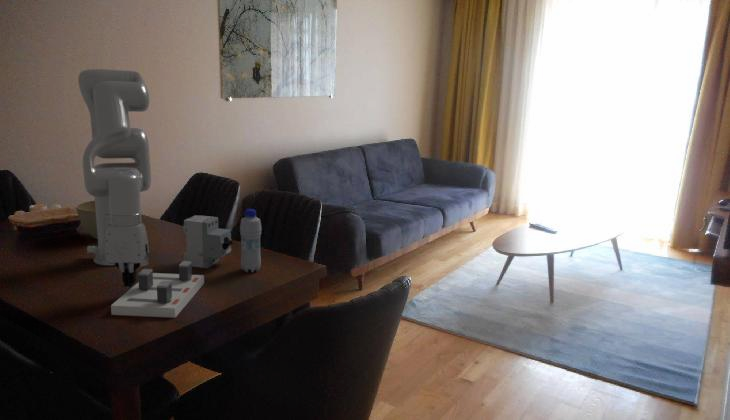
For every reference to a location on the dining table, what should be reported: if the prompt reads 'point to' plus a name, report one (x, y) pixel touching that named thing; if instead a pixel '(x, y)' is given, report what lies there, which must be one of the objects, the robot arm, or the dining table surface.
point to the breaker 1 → (164, 291)
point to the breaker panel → (146, 300)
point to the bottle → (250, 241)
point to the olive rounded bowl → (88, 217)
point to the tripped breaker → (145, 279)
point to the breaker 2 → (185, 270)
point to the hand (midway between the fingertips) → (129, 284)
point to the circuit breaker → (205, 241)
